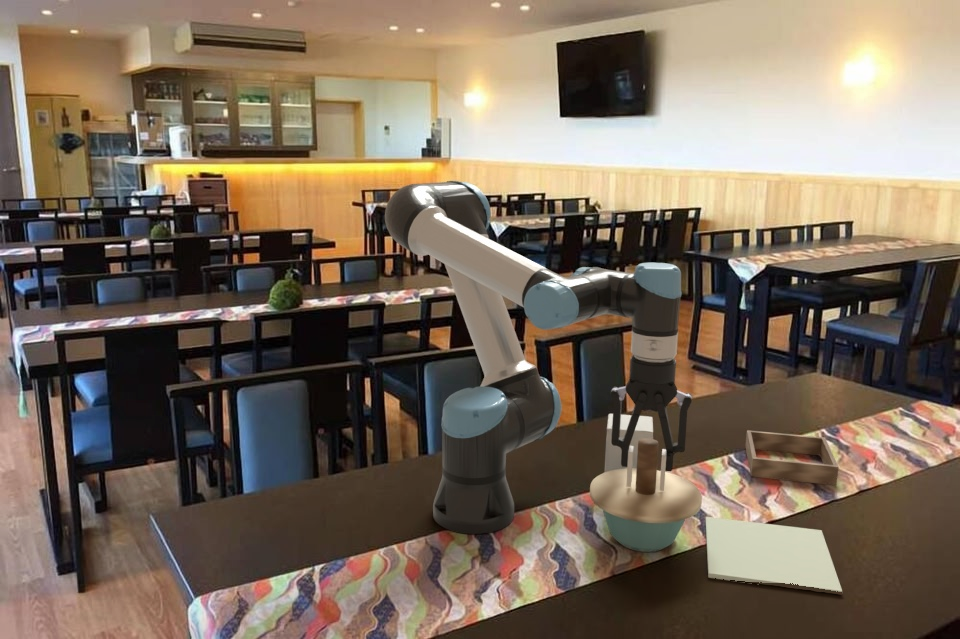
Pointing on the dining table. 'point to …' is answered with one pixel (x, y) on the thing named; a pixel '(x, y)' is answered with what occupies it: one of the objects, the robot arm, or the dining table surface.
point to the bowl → (642, 533)
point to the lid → (646, 491)
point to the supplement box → (614, 452)
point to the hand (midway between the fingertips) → (645, 485)
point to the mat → (769, 554)
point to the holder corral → (791, 469)
